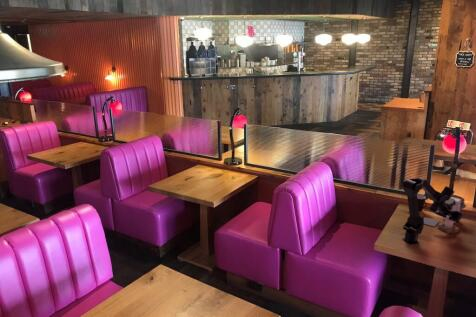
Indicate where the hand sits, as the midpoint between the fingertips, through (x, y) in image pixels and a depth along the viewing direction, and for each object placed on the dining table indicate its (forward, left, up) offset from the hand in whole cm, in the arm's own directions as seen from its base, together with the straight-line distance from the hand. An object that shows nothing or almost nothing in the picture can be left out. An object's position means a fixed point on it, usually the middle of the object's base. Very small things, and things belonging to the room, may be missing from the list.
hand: (450, 219), depth 244 cm
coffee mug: (+2, +29, -7) cm, 30 cm away
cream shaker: (-1, 0, -7) cm, 7 cm away
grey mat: (-4, +12, -7) cm, 14 cm away
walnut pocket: (-1, 0, -7) cm, 7 cm away
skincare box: (+12, +11, -7) cm, 18 cm away
